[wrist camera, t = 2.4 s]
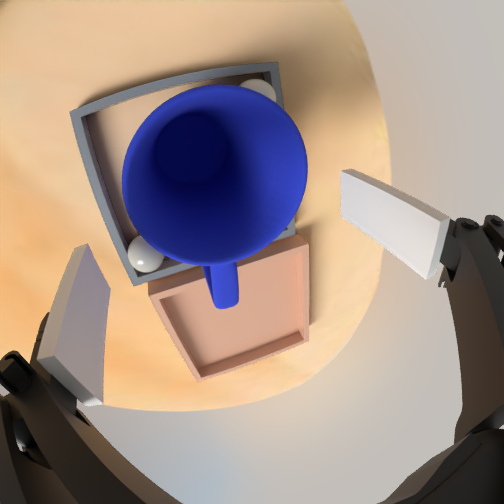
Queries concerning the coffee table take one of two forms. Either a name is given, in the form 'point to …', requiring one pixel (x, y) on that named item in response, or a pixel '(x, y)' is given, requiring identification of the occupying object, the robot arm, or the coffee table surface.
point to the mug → (214, 180)
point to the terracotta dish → (238, 310)
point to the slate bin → (94, 172)
